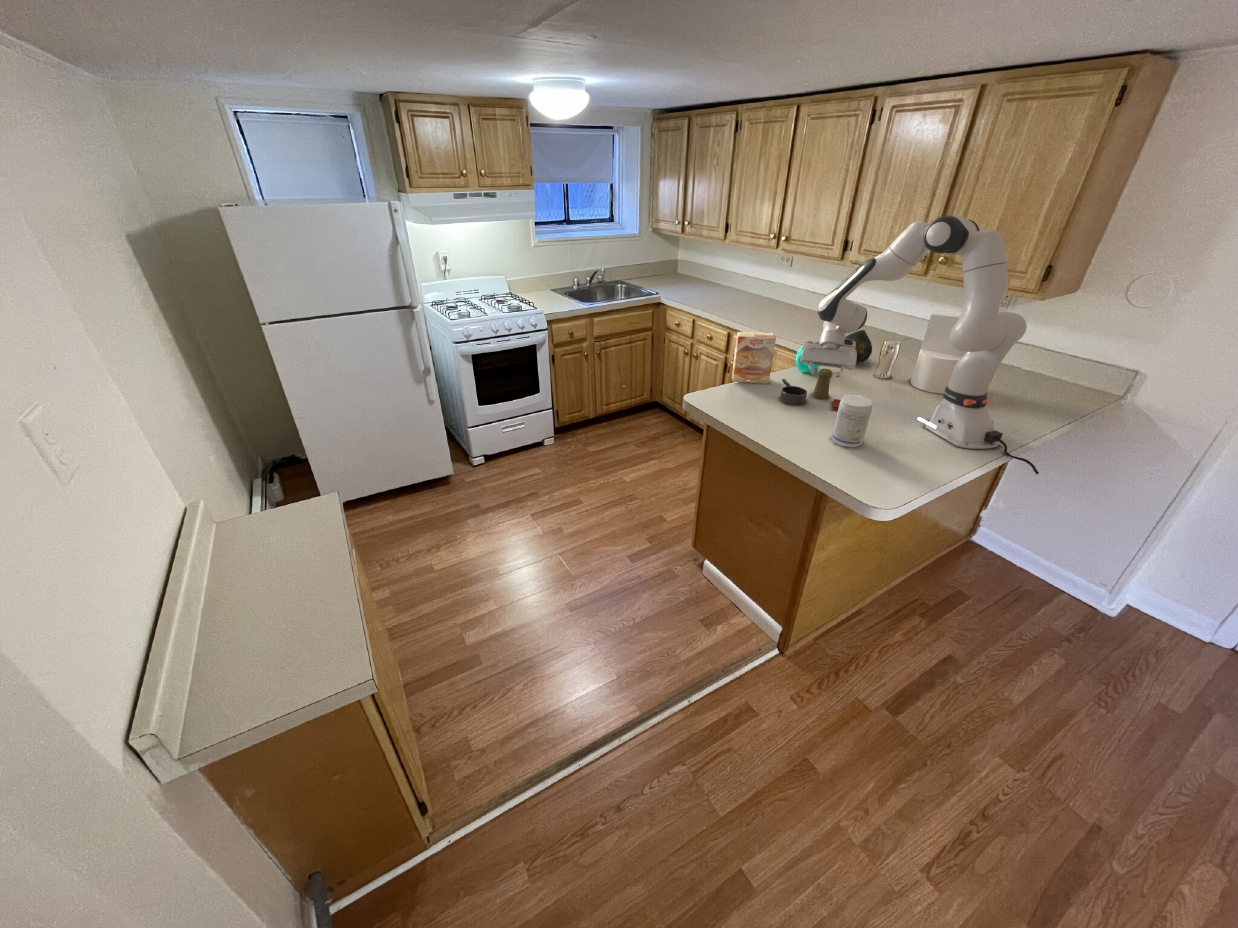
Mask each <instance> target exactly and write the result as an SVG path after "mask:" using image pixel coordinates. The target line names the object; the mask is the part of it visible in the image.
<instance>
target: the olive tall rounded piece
mask: <svg viewBox="0 0 1238 928" xmlns="http://www.w3.org/2000/svg"><path fill="white" fill-rule="evenodd" d="M817 377H818V378H817V380H816V384H815V386H814V389H813V392H812V394H811V396H812V397H813V398H814V399H817V400H828V399H829V395H830V394H829V392H830V383H831V378H832V377H833V371H832V370H831V369H830V368H820V369H819V370H818V371H817Z"/></svg>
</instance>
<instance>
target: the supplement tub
mask: <svg viewBox="0 0 1238 928" xmlns="http://www.w3.org/2000/svg"><path fill="white" fill-rule="evenodd" d="M840 400H841V401H840V405H839V409H838V411H837V413H836V417H835V421H834V425H833V430H832V435H831V439H832V441H833V442H834V443H835V444H837V445H838V446H842V447H846V448H857V447H859V446H861V445H862V444H863V441H864V440H865V439H864V438H865V435H866V431H867V427H868V424H869V420H870V416H871V413H872V410H873V405H874V403H873V401H872V400H871V398H870V399H869V398H868V397H866V396H863V395H858V394H850V395H849V394H848V395H847V394H846V395H843V396H842V397H841V399H840Z"/></svg>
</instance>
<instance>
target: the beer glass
mask: <svg viewBox="0 0 1238 928" xmlns="http://www.w3.org/2000/svg"><path fill="white" fill-rule="evenodd" d="M901 345H902V343H901V342H900V341H898V340H894V339H885V340H883V342H882V345H881V348H880V351H879V357H878V367H877V370H876V372H875V373H874V376H875V378H878V379H881V380H889V379H891V377H892V370H893V367H894V365H895V363H896V361H897V359H898V357H899V354H900V350H901Z"/></svg>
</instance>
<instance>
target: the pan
mask: <svg viewBox="0 0 1238 928" xmlns="http://www.w3.org/2000/svg"><path fill="white" fill-rule="evenodd" d="M807 395H808V391H807V389H806V388H803V387H802V386H801V387H800V386H795V385H791V386H786V385H785V386H783V387H782V388H781V391H780V395H779V400H780V402H782V403H783V404H786V405H790V406H802V405H804V404H805V403H806V400H807Z"/></svg>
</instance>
